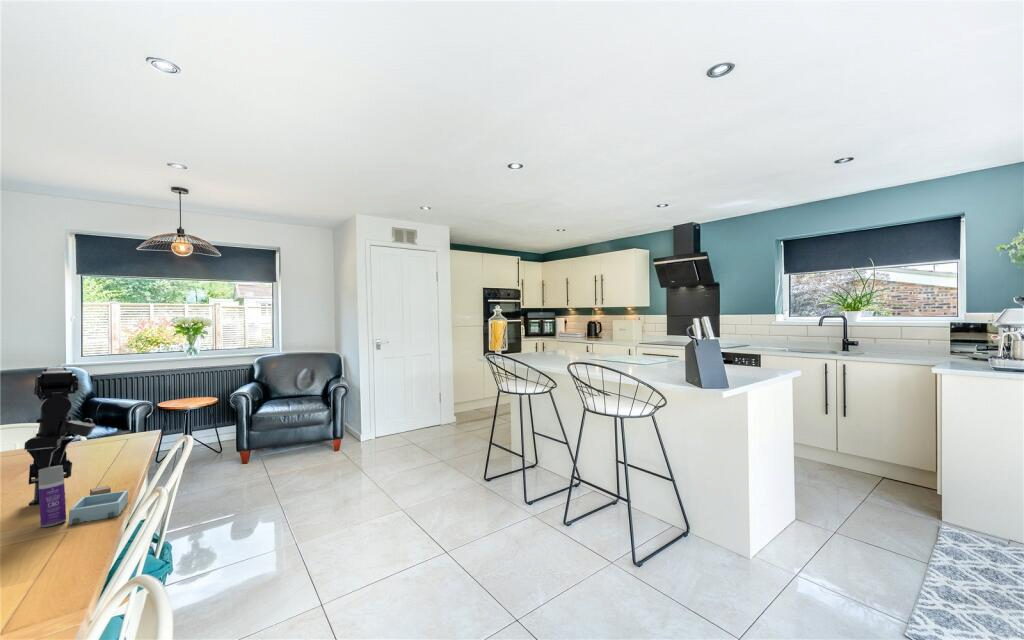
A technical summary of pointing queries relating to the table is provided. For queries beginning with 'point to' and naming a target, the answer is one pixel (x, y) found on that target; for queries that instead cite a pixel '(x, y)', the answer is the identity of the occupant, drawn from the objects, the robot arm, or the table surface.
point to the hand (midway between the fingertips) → (51, 467)
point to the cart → (98, 507)
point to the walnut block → (100, 490)
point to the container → (52, 496)
